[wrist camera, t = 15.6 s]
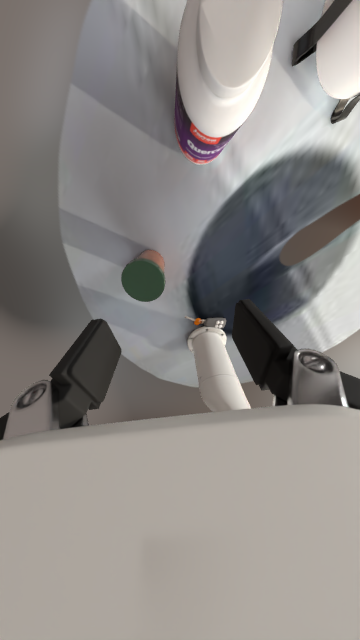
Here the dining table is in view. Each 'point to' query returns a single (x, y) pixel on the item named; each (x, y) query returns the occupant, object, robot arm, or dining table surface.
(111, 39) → the dining table surface
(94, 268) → the dining table surface
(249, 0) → the pill bottle
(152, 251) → the jar
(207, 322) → the key chain
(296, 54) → the coffee press
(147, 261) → the lid
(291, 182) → the dining table surface
